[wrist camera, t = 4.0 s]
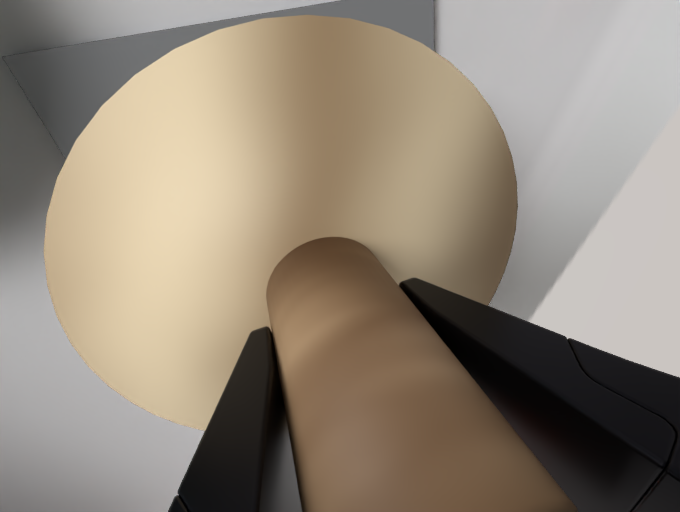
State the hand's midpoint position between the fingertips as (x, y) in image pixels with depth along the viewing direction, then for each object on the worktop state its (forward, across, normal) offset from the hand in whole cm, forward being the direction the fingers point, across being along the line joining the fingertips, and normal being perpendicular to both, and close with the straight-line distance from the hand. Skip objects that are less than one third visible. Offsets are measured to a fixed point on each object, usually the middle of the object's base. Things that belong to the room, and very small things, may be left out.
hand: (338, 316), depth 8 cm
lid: (+2, 0, 0) cm, 2 cm away
